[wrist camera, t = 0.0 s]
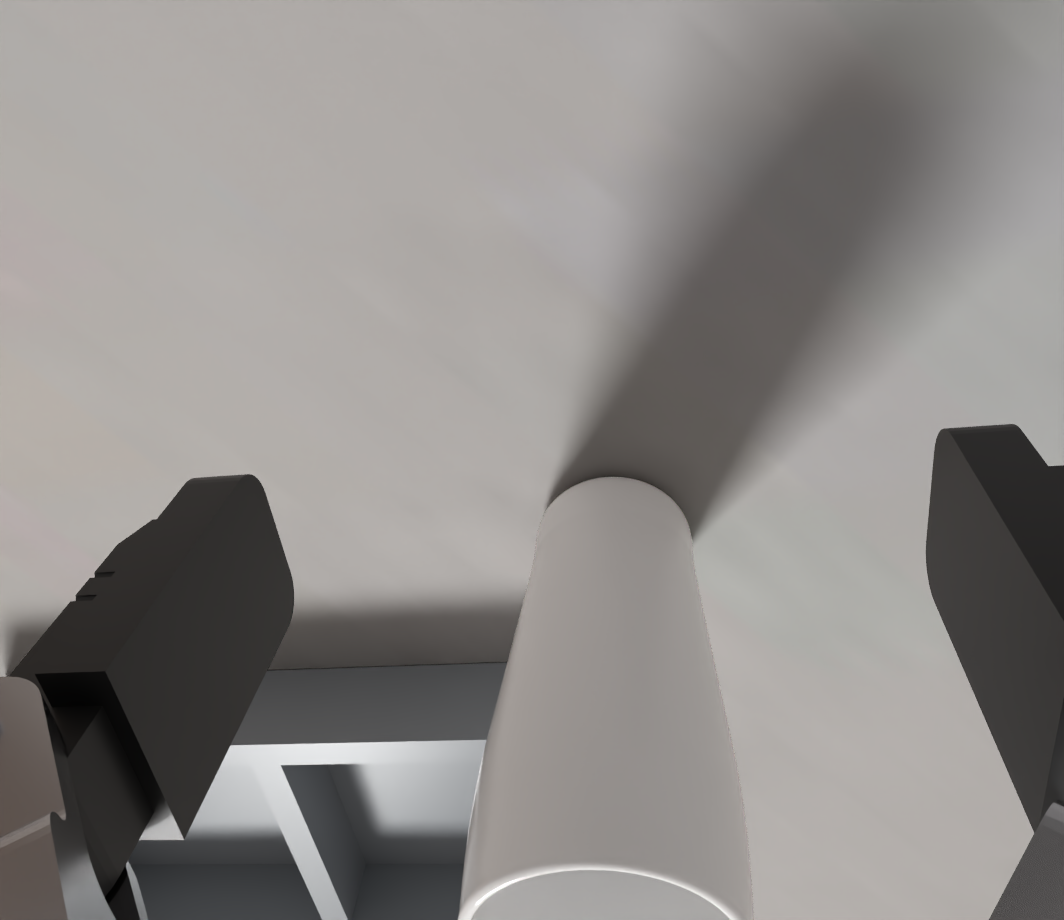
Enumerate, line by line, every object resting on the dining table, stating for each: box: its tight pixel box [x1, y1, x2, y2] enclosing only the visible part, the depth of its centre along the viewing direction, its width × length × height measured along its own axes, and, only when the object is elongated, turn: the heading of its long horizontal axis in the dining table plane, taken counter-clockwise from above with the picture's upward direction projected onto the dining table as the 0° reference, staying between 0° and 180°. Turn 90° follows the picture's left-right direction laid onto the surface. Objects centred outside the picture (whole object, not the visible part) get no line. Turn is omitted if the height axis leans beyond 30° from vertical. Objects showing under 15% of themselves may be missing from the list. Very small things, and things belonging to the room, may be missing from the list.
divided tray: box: [128, 663, 507, 920], centre depth 41 cm, size 13×26×4 cm, turn 98°
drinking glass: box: [458, 477, 754, 920], centre depth 27 cm, size 7×7×15 cm
